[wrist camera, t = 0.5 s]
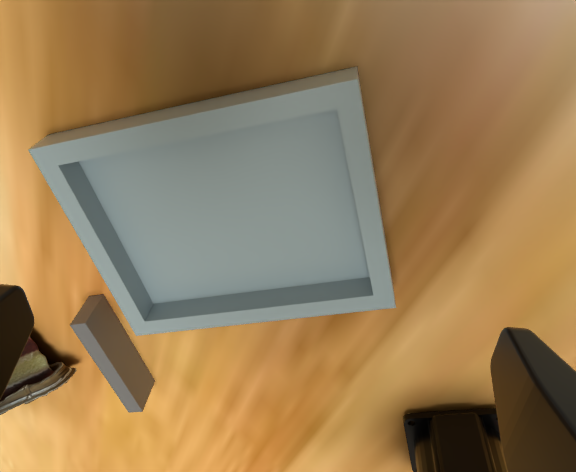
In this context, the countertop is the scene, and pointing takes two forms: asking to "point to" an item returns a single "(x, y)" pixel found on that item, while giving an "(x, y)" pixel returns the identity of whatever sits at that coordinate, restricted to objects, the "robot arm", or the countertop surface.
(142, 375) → the bay rails
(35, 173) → the countertop surface
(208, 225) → the tray
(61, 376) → the dark piece
